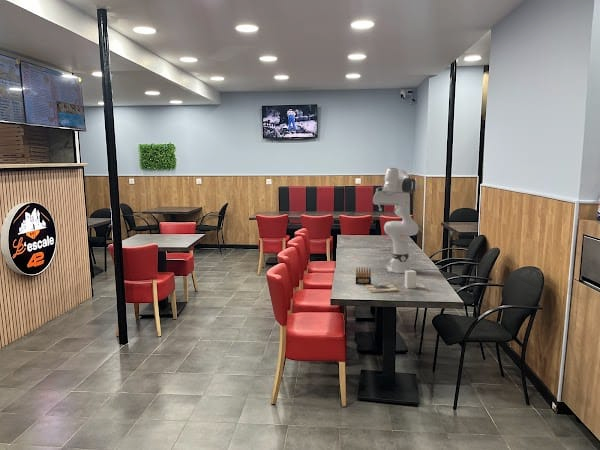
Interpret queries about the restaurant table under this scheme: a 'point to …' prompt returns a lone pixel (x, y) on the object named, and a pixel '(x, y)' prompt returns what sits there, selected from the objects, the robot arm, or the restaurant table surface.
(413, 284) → the block
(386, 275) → the restaurant table surface
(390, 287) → the header board
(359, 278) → the ammunition clip
